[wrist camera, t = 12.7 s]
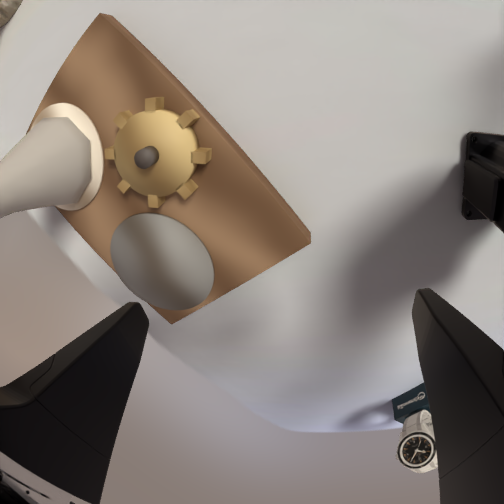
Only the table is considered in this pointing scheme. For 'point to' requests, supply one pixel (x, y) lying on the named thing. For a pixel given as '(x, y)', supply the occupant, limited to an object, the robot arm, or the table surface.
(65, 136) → the flask
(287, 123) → the table surface
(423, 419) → the watch
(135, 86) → the gear board
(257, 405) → the table surface
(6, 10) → the ceramic cottage
